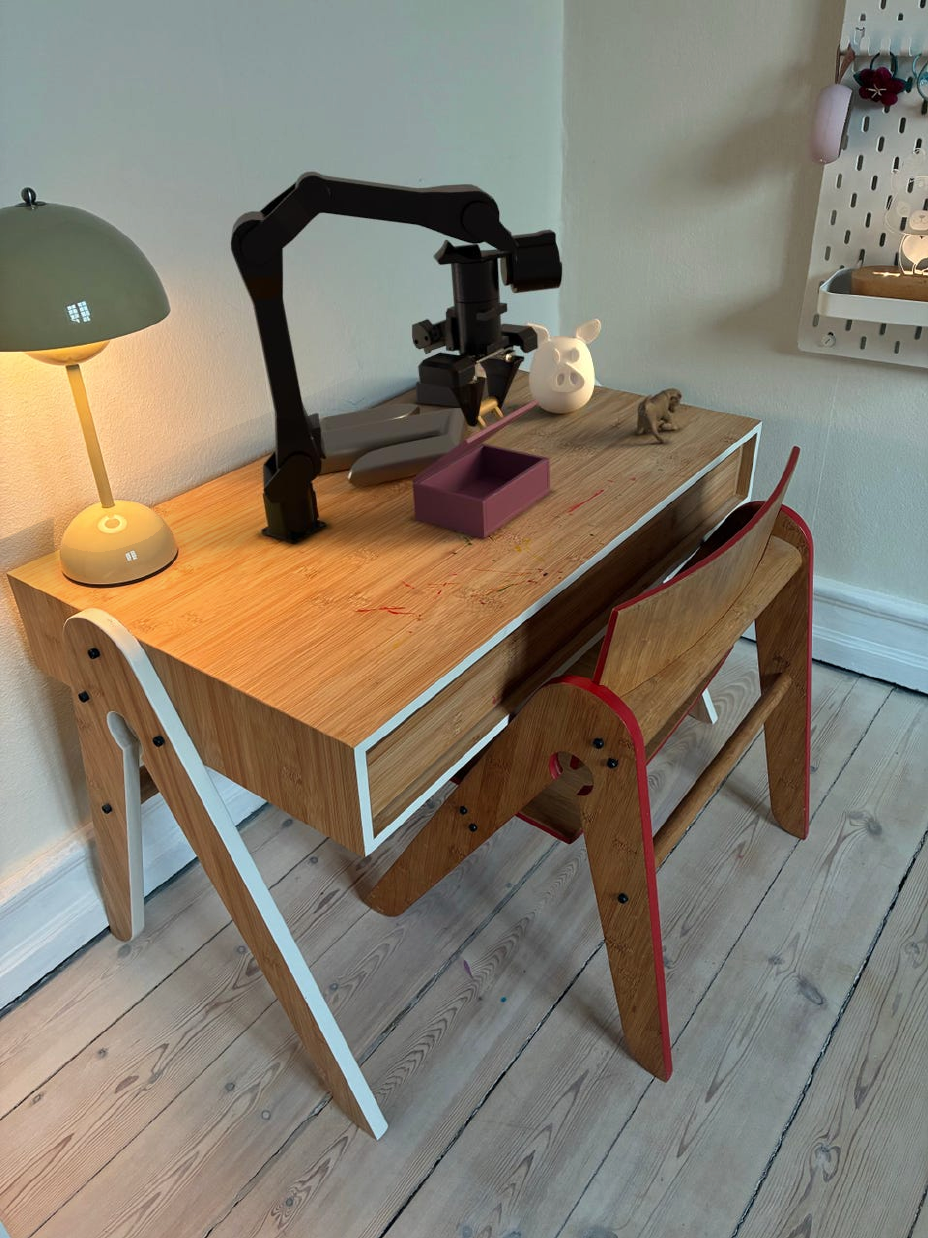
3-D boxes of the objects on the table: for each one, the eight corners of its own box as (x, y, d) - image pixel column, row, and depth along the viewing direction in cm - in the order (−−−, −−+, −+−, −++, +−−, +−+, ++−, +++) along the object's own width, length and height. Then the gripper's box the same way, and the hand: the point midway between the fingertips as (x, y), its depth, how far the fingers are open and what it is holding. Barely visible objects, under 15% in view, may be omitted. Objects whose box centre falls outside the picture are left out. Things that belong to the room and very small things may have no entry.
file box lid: (538, 402, 131) (522, 377, 130) (468, 443, 120) (450, 416, 119) (483, 442, 140) (468, 418, 139) (413, 483, 128) (396, 458, 128)
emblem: (376, 381, 166) (510, 408, 151) (379, 411, 168) (510, 440, 153) (254, 434, 147) (392, 471, 132) (260, 467, 150) (396, 506, 135)
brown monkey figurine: (659, 447, 148) (662, 400, 144) (625, 441, 151) (627, 395, 147) (691, 422, 156) (694, 377, 152) (658, 416, 159) (661, 372, 155)
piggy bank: (545, 429, 157) (545, 336, 149) (516, 407, 166) (514, 319, 159) (613, 415, 161) (616, 324, 153) (581, 395, 170) (582, 308, 162)
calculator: (507, 362, 176) (471, 384, 164) (507, 386, 178) (472, 409, 166) (453, 357, 180) (414, 378, 169) (454, 380, 182) (416, 402, 171)
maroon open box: (550, 492, 137) (549, 457, 134) (484, 538, 125) (482, 502, 123) (483, 476, 142) (482, 443, 140) (415, 519, 131) (412, 484, 129)
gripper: (467, 276, 129) (475, 390, 138) (377, 310, 117) (391, 433, 125) (538, 282, 124) (541, 400, 132) (451, 318, 111) (461, 447, 119)
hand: (484, 419), depth 127 cm, fingers closed on file box lid, 5 cm apart
